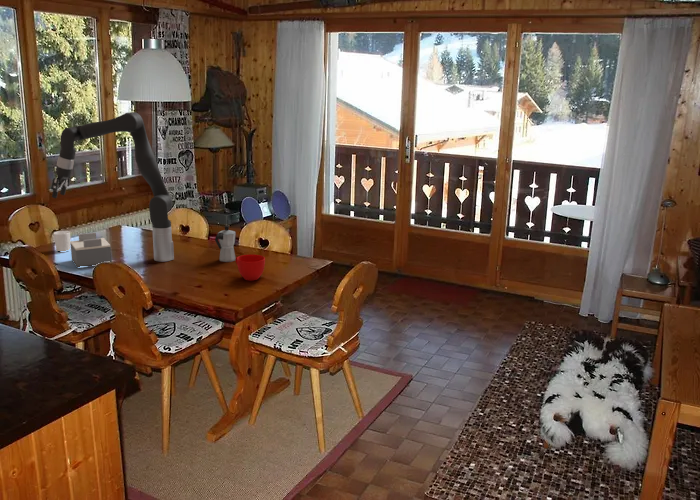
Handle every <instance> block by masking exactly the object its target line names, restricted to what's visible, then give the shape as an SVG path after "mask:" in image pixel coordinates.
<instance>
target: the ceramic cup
mask: <svg viewBox="0 0 700 500" xmlns="http://www.w3.org/2000/svg"><path fill="white" fill-rule="evenodd" d="M235 259H236V260H235V264H236V265H237V269H238V272H239V274H240V276H241V277H242V278H243V279H244V280H246V281H257V280H258V279H259V278H260V277H261V276H262V275H263V273H264V270H265V265H266V257H265V256H263V255H260V254H254V253H253V254H243V255H239V256H235Z"/></svg>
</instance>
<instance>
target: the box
mask: <svg viewBox="0 0 700 500" xmlns="http://www.w3.org/2000/svg"><path fill="white" fill-rule="evenodd" d="M70 253H71V261H72V260H73V261H74V263H75V264H76V266H77V267H80V266H92V265H96V264H98V263H101V262H104V261H110V262H112V260H113V259H112V249H111V247H103V248H94V249H85V250H75V249H74V247H73V246H72V244H71V243H70ZM73 261H72V262H73ZM74 263H73V264H74ZM75 264H74V265H75ZM76 266H75V267H76ZM77 267H76V268H77Z"/></svg>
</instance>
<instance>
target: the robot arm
mask: <svg viewBox="0 0 700 500" xmlns="http://www.w3.org/2000/svg"><path fill="white" fill-rule="evenodd" d="M122 132H123V133H124V132H126V133H130V135H131V137H132V140H133V143H134V156H135V157H134V158H135V163H136V165H137V168H138V171H139V172H140V175H141V176H142V177H143V179H144V180H145V182H146V183H147V184H148V186H149V187H150V189H151V191H152V194H153V197H152V198H151V199H150V201H149V203H148V204H149V205H148V211H149V219H150V223H151V227H152V229H151V230H152V241H153V242H152V245H153V260H154V261H156V262H169V261H172V260H175V252H174V251H175V250H174V241H173V237H172V235H173V234H172V222H171V220H170V219H169V215H168V213H169V212H170V210H171V209H172V207H173V200H172V197H171V195H170V193H169V190H168V189H167V187H166V185H165V183H164V182H165V181H164V179H163V177H162V174H161V171H160V168H159V165H158V163H157V162H158V161H157V159H156V157H155V154H154V152H153V149H152V146H151V143H150V142H149V141H150V140H149V139H148V135H147V131H146V127H145V123H144V119H143V117H142V116H141V115H140V114H139V113H137V112H136V111H131V112H125V113H123V114H122V115H118V116H116V117H114V118H111V119H108V120H102V121H101V120H100V121H94V122H90V123H86V124H82V125H79V126H71V127H66V128H64V129H62V131H61V134H60V151H59V155H58V158H57V162H56V167H55V170H54V173H55V175H57V176H56V177H55V178H53V179H52V183H51V189H50V190H52V196H51V198H53V199H58V193H59V195H62V196H65V195H66V191H67V189H68V187H69V186H70V184H71V177H72V172H73V169H74V165H75V157H76V152H77V149H76V147H74V146H75V145H74V144H75V142H79V141H82V140H88V139H93V138H99V137H102V136H105V135H108V134H113V133H122ZM59 191H60V192H59Z"/></svg>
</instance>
